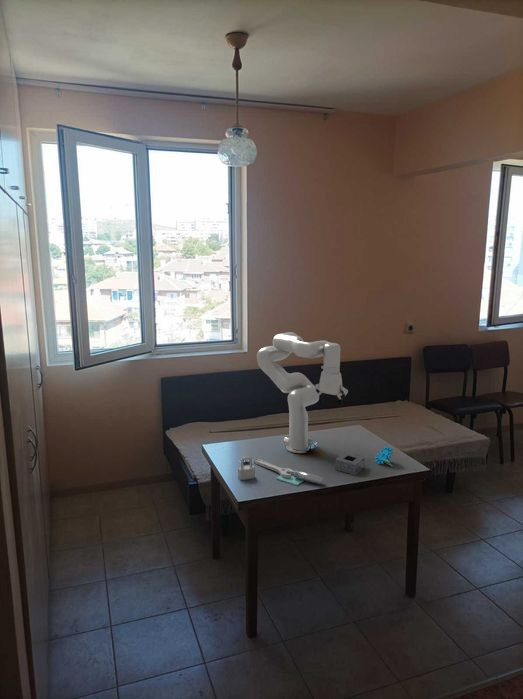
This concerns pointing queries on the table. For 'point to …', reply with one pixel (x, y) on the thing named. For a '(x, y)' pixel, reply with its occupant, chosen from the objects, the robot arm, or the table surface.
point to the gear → (384, 456)
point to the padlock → (246, 470)
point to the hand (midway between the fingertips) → (330, 404)
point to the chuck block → (349, 463)
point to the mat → (290, 480)
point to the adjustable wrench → (275, 468)
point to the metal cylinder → (308, 477)
